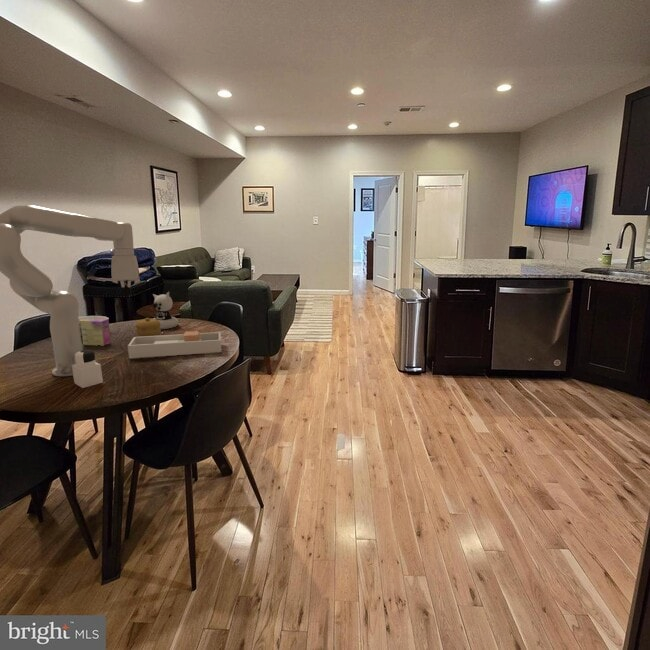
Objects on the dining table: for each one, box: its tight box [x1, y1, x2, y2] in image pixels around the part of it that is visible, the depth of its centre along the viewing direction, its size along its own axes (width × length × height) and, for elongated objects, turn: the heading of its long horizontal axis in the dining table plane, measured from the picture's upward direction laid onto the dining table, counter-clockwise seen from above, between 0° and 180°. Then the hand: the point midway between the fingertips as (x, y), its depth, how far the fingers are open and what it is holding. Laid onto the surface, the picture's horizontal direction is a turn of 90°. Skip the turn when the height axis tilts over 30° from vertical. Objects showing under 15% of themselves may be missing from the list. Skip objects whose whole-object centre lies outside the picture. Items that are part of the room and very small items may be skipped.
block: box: [183, 330, 200, 342], centre depth 189 cm, size 7×6×4 cm
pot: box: [135, 317, 162, 337], centre depth 210 cm, size 12×12×10 cm
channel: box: [127, 331, 223, 360], centre depth 188 cm, size 14×38×6 cm, turn 104°
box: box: [80, 318, 112, 347], centre depth 198 cm, size 10×6×12 cm, turn 84°
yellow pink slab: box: [79, 315, 110, 336], centre depth 214 cm, size 25×23×8 cm
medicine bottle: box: [72, 349, 104, 389], centre depth 151 cm, size 7×7×12 cm
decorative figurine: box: [152, 291, 179, 330], centre depth 229 cm, size 15×15×20 cm
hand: (127, 296), depth 180 cm, fingers closed
